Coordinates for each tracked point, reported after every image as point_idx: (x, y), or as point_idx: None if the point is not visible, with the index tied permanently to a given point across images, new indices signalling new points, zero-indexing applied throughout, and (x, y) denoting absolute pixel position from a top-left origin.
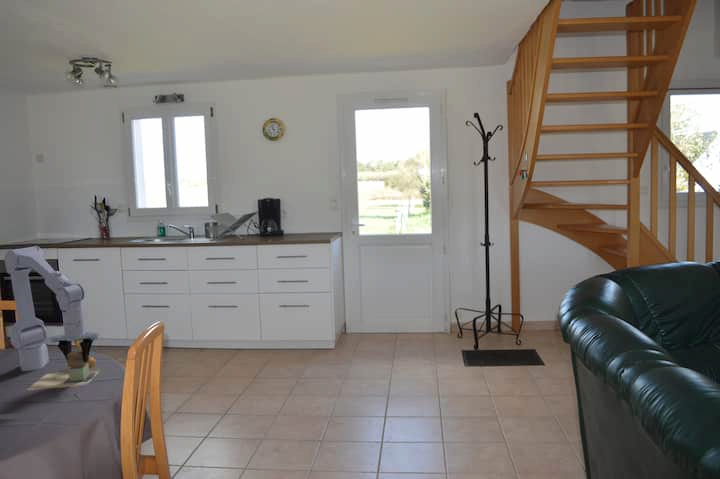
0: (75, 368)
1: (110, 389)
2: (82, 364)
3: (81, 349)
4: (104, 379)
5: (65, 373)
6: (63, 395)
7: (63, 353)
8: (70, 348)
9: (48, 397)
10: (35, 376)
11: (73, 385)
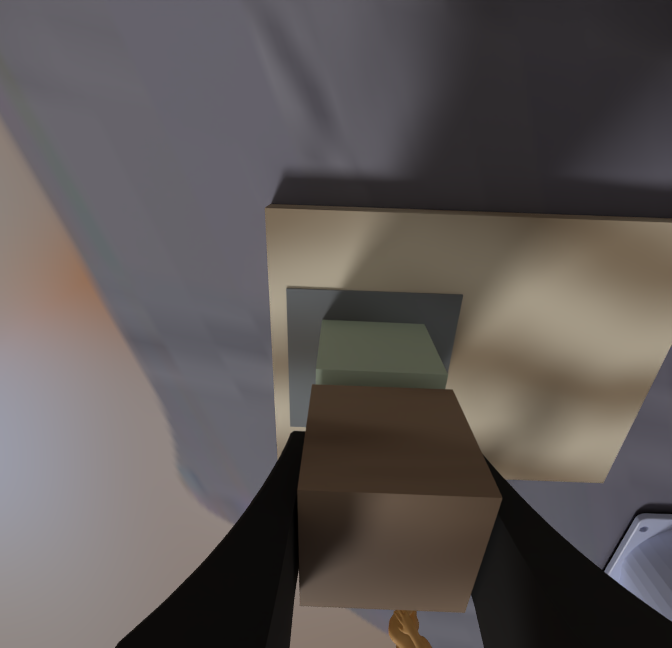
0: (386, 382)
1: (68, 150)
2: (312, 394)
3: (415, 645)
4: (218, 354)
5: (489, 458)
6: (411, 107)
7: (561, 536)
8: (492, 639)
9: (526, 91)
10: (656, 483)
11: (370, 235)
